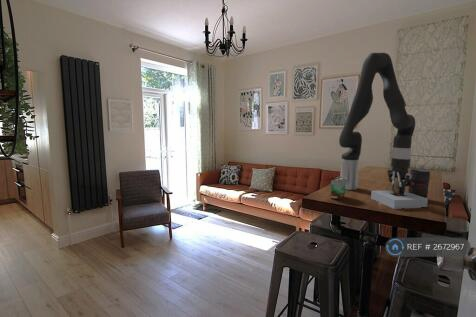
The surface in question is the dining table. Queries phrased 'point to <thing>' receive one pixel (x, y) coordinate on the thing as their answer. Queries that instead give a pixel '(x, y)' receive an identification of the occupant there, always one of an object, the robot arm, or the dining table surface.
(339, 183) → the food container
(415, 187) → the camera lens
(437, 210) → the dining table surface
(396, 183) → the peg
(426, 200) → the socket board
